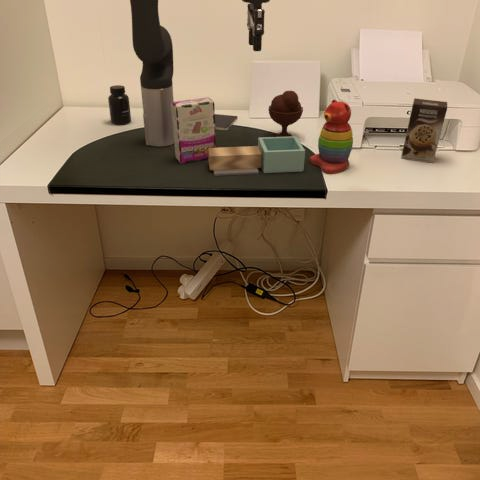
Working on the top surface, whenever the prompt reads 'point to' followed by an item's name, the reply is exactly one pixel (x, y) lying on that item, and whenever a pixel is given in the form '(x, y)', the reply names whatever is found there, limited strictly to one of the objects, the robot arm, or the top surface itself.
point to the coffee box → (424, 130)
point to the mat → (236, 172)
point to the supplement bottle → (119, 105)
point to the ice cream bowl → (285, 111)
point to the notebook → (224, 121)
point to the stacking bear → (334, 139)
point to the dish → (281, 154)
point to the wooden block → (234, 158)
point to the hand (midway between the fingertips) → (254, 47)
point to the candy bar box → (193, 129)
